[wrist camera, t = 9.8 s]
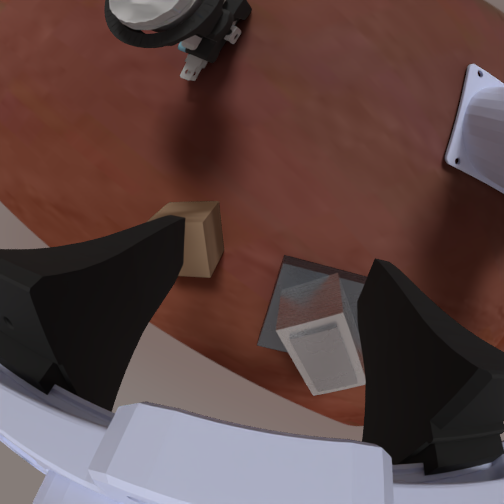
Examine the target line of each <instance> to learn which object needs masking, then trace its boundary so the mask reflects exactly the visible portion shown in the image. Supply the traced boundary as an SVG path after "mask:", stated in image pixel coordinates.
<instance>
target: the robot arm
mask: <svg viewBox="0 0 504 504" xmlns="http://www.w3.org/2000/svg"><path fill="white" fill-rule="evenodd" d="M478 71H479V72H480V77H479V76H478ZM456 158H458V163H457V164H455V159H456ZM445 161H446V163H447V164H449V165H451V166H453V167H455V168H457V169H459V170H461V171H463V172H465V173H467V174H469V175H471V176H473V177H475V178H477V179H478V180H480V181H482V182H484V183H486V184H488V185H489V186H491V187H493V188H495V189H496V190H498V191H500V192H502V193H503V194H504V84H503V83H502V82H501V81H499V80H498V79H496V78H495V77H494V76H492V75H491V74H489V73H488V72H486V71H485V70H483V69H482V68H480V67H478V66H477V65H475V64H469V65H468V67H467V72H466V77H465V82H464V87H463V91H462V96H461V100H460V104H459V108H458V112H457V116H456V120H455V124H454V127H453V131H452V134H451V138H450V141H449V144H448V148H447V151H446V154H445ZM185 219H186V218H184V217H179V216H174V215H167V216H163V217H160V218H157V219H154V220H151V221H149V222H146V223H143V224H140V225H138V226H135V227H132V228H129V229H126V230H123V231H120V232H117V233H114V234H111V235H108V236H105V237H102V238H98V239H94V240H90V241H86V242H81V243H76V244H70V245H64V246H59V247H51V248H41V249H22V250H20V249H19V250H17V249H12V250H11V249H10V250H9V249H6V250H5V249H0V441H2V442H3V443H4V444H5V445H6V446H8V447H9V448H10V449H11V450H12V451H14V452H15V453H17V454H18V455H19V456H20V457H22V458H23V459H24V460H26V461H27V462H28V463H30V464H31V465H32V466H34V467H35V468H37V469H38V470H39V471H41V472H42V473H44V474H45V475H46V477H45V479H44V480H43V482H42V484H41V486H40V488H39V490H38V493H37V495H36V497H35V499H34V501H33V503H32V504H504V441H501V437H500V434H502V433H503V432H504V424H503V421H504V352H502V351H501V350H499V349H497V348H496V347H494V346H492V345H490V344H488V343H487V342H485V341H484V340H482V339H480V338H479V337H477V336H476V335H474V334H473V333H471V332H470V331H468V330H467V329H465V328H464V327H463V326H461V325H460V324H459V323H457V322H456V321H455V320H454V319H452V318H451V317H450V316H449V315H447V314H446V313H445V312H444V311H443V310H441V309H440V308H439V307H438V306H437V305H436V304H435V303H434V302H433V301H432V300H430V299H429V298H428V297H427V296H426V295H425V294H424V293H423V292H422V291H421V290H420V289H419V288H418V287H417V286H416V285H415V284H414V283H413V282H412V281H411V280H410V279H409V278H408V277H407V276H406V275H404V274H403V273H402V272H401V271H400V270H399V269H398V268H397V267H396V266H394V265H393V264H392V263H390V262H388V261H384V260H379V259H375V260H374V262H373V265H372V267H371V270H370V272H369V275H368V277H367V279H366V282H365V284H364V287H363V289H362V291H361V294H360V296H359V298H358V300H357V320H358V329H359V336H360V342H361V349H362V355H363V362H364V369H365V381H366V391H365V417H364V429H363V439H362V442H360V441H355V440H350V439H337V438H326V437H315V436H307V435H299V434H291V433H285V432H278V431H272V430H267V429H261V428H256V427H251V426H246V425H241V424H237V423H232V422H228V421H223V420H219V419H215V418H211V417H208V416H203V415H200V414H196V413H193V412H189V411H186V410H182V409H179V408H175V407H169V406H164V405H159V404H154V403H149V402H141V403H136V404H130V405H124V406H119V407H118V409H117V411H116V413H112V408H113V405H114V402H115V399H116V396H117V393H118V390H119V387H120V385H121V382H122V379H123V377H124V374H125V371H126V369H127V367H128V364H129V362H130V359H131V357H132V355H133V352H134V350H135V348H136V346H137V344H138V342H139V340H140V337H141V335H142V333H143V331H144V330H145V328H146V326H147V324H148V323H149V321H150V320H151V318H152V317H153V315H154V314H155V312H156V311H157V309H158V308H159V306H160V305H161V303H162V302H163V300H164V299H165V297H166V295H167V294H168V292H169V291H170V289H171V288H172V286H173V285H174V283H175V281H176V279H177V277H178V275H179V273H180V270H181V268H182V266H183V263H184V238H185Z"/></svg>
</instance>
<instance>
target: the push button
mask: <svg viewBox="0 0 504 504" xmlns="http://www.w3.org/2000/svg"><path fill="white" fill-rule="evenodd" d="M251 10H252V9H251V7H250V5H249V4H248V2H247V1H246V0H106V1H105V18H106V22H107V25H108V27H109V29H110V31H111V32H112V33H113V35H114V36H115V37H116V38H118V39H119V40H120V41H122V42H124V43H126V44H129V45H132V46H136V47H142V48H158V47H163V46H172V45H175V44H177V43H179V42H180V44H179V46H178V49H179V50H181V51H183V52H186V53H188V56H187V58H186V60H185V62H187V63H186V65H185V66H184V68H183V70H182V72H181V74H180V77H181V78H184V79H186V80H188V81H189V80H192V81H195V80H196V78H197V76H198V75H199V73H200V71H201V69H202V68H205V66H206V64H207V62H210V63H214V62H215V61H216V59H217V57H218V55H219V52H220V51H221V49H222V47H223V46H224V44H225V42H226V41H229V42H230V43H232V44H234V43H235V42H236V41H237V39H238V37H239V36H240V34H241V30H240V29H239V28H237V27H236V24H237V23H238V21H239V20H240V19H243V20H245V19H246V18H247V17H248V15H249V14H250V12H251ZM141 30H152V31H155V32H158V33H154V34H145V33H143V32H142V31H141ZM236 34H237V36H236ZM235 36H236V38H235ZM234 38H235V39H234ZM187 69H189V70H188V72H187V73H186V74H185V71H186V70H187ZM190 72H191V73H190ZM194 72H196V74H195V75H194V76H193V74H194Z"/></svg>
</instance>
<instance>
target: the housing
mask: <svg viewBox="0 0 504 504" xmlns="http://www.w3.org/2000/svg"><path fill="white" fill-rule="evenodd" d="M276 332H277V334H278V336H279V337H280V339H281V341H282V343H283V344H284V346H285V348H286V350H287V351H288V353H289V355H290V357H291V358H292V360H293V362H294V364H295V365H296V367H297V369H298V370H299V372H300V374H301V376H302V377H303V379H304V381H305V383H306V384H307V386H308V388H309V390H310V391H311V393H312V395H313V396H314V395H320V394H325V393H330V392H334V391H339V390H343V389H348V388H352V387H356V386H360V385H364V384H366V381H365V369H364V362H363V355H362V349H361V342H360V336H359V333H358V330H357V327H356V324H355V321H354V318H353V315H352V312H351V309H350V306H349V303H348V300H347V297H346V294H345V291H344V288H343V285H342V283H341V280H340V277H339V274H338V273H335V274H332V275H329V276H326V277H323V278H319V279H316V280H313V281H310V282H306V283H303V284H300V285H297V286H293V287H290V288H287V289H283V290H281V297H280V304H279V311H278V318H277V325H276Z"/></svg>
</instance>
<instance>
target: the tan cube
mask: <svg viewBox="0 0 504 504" xmlns="http://www.w3.org/2000/svg"><path fill="white" fill-rule="evenodd" d="M167 215H174V216H179V217H184V218H186V219H185V238H184V263H183V266H182V268H181V270H180V273H179V275H178V276H189V277H206V278H211V275H212V273H213V271H214V269H215V267H216V265H217V263H218V261H219V259H220V257H221V255H222V253H223V251H224V243H223V234H222V225H221V215H220V205H219V201H200V202H169V203H168V204H167V205H165V206H164V207H163V208H162V209H161V210H160V211H159V212H157V213H156V214H155V215H154V216H153V217H152V218H151V219H149V220H148V221H147V222H149V221H151V220H154V219H157V218H160V217H163V216H167Z"/></svg>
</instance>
